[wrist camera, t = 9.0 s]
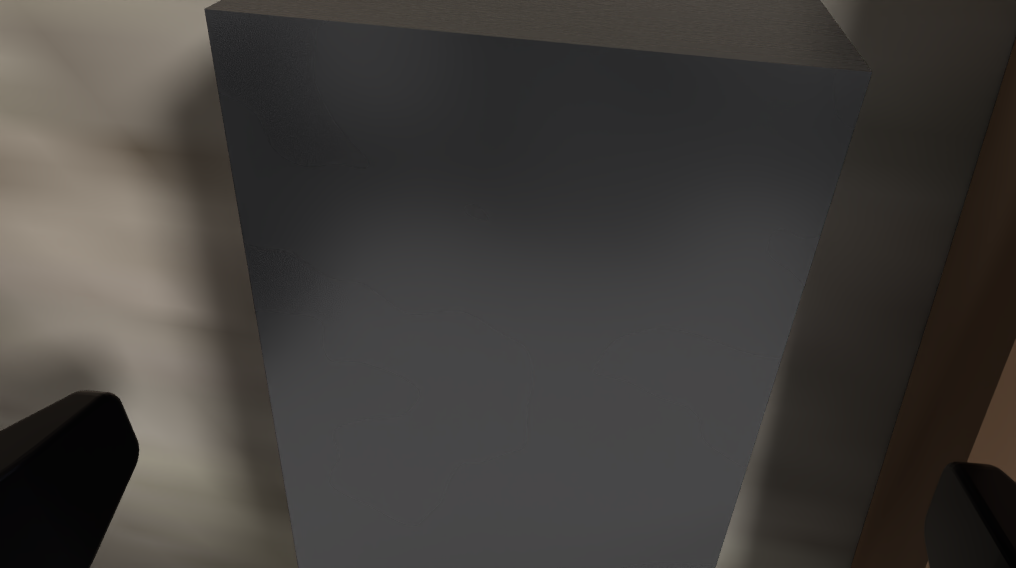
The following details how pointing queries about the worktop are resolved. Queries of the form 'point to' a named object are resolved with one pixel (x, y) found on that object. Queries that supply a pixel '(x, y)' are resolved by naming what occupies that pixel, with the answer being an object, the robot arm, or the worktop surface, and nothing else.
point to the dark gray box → (526, 262)
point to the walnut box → (958, 359)
